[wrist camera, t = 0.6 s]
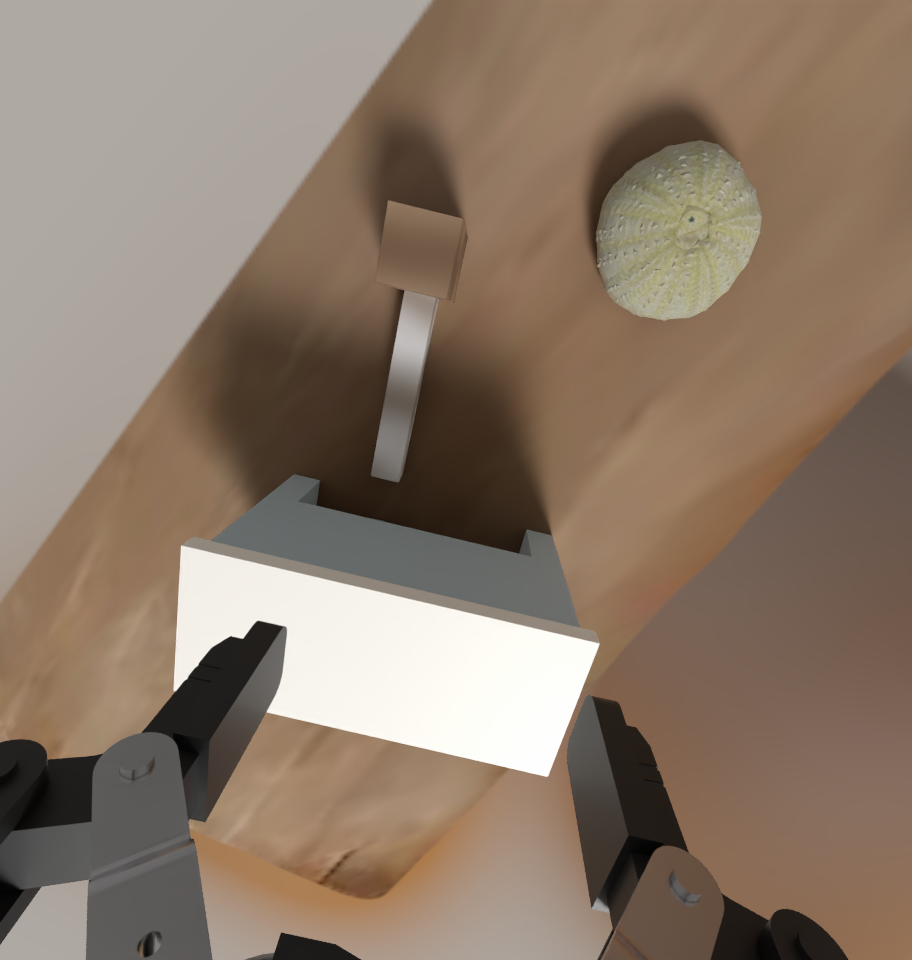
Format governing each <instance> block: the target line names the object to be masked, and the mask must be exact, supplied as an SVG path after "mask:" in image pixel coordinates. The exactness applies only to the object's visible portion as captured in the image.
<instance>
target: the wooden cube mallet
mask: <svg viewBox="0 0 912 960" xmlns="http://www.w3.org/2000/svg"><path fill="white" fill-rule="evenodd" d="M467 238H468V237H467V233H466V228H465V224H464V220H463V219H462V218H458V217H454V216H450V215H446V214H442V213H438V212H434V211H430V210H426V209H422V208H418V207H414V206H409V205H405V204H401V203H397V202H393V201H389V200H388V204H387V210H386V216H385V222H384V228H383V234H382V240H381V247H380V253H379V259H378V265H377V271H376V277H375V282H378V283H381V284H384V285H386V286H389V287H392V288H395V289H399V290H403V291H404V296H403V302H402V307H401V312H400V318H399V323H398V329H397V334H396V340H395V345H394V351H393V356H392V362H391V367H390V373H389V378H388V383H387V389H386V394H385V400H384V405H383V411H382V416H381V422H380V427H379V433H378V438H377V444H376V449H375V454H374V460H373V465H372V471H371V476H373V477H377V478H381V479H385V480H389V481H394V482H399V480H400V479H401V477H402V475H403V471H404V467H405V462H406V457H407V452H408V447H409V442H410V437H411V432H412V428H413V423H414V418H415V413H416V408H417V403H418V398H419V394H420V389H421V384H422V379H423V374H424V369H425V364H426V360H427V355H428V350H429V345H430V340H431V335H432V330H433V326H434V321H435V316H436V311H437V306H438V301H439V299H440V300H444V301H449V302H453V303H454V299H455V294H456V289H457V285H458V280H459V275H460V271H461V266H462V262H463V257H464V252H465V248H466V243H467Z"/></svg>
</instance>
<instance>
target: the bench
mask: <svg viewBox="0 0 912 960" xmlns="http://www.w3.org/2000/svg"><path fill="white" fill-rule="evenodd" d="M319 485H320V480H317V479H313V478H308V477H304V476H300V475H296V474H294V475H293V476H291V477H290V478H289V479H288V480H286V481H285V482H284V483H283V484H281V485H280V486H279V487H278V488H276V489H275V490H274V491H272V492H271V493H270V494H269V495H267V496H266V497H265V498H264V499H262V500H261V501H260V502H259V503H257V504H256V505H255V506H254V507H252V508H251V509H250V510H249V511H247V512H246V513H245V514H244V515H242V516H241V517H240V518H239V519H237V520H236V521H235V522H234V523H232V524H231V525H230V526H229V527H227V528H226V529H225V530H224V531H222V532H221V533H220V534H219V535H217V536H216V537H215V538H214V539H212V540H211V541H209V540H205V539H200V538H196V537H192V538H191V539H189V540H188V541H187V542H185V543H184V544H183V545H181V559H180V578H179V597H178V616H177V635H176V654H175V673H174V691H176V690H177V689H178V688H179V687H180V686H181V684H182V683H183V682H184V681H185V680H187V678H188V676H189V675H190V673H191V672H192V671H193V670H194V668H195V667H197V666H198V664H199V662H200V661H201V660H202V659H203V657H204V656H205V655H206V654H207V653H208V651H209V650H210V649H211V648H212V647H213V646H215V645H217V644H218V643H220V642H222V641H223V640H225V639H226V638H228V637H230V636H232V637H237V638H241V639H243V638H244V637H245V635H246V634H247V633H248V631H249V630H250V629H251V627H252V626H253V625H254V623H255V622H256V621H263V622H267V623H272V624H276V625H281V626H285V627H286V628H287V638H286V647H285V655H284V664H283V673H282V678H281V681H280V685H279V688H278V690H277V693H276V695H275V697H274V699H273V701H272V703H271V704H270V706H269V708H268V710H267V712H268V713H272V714H277V715H281V716H285V717H290V718H294V719H298V720H303V721H307V722H311V723H316V724H320V725H324V726H329V727H333V728H338V729H342V730H346V731H351V732H355V733H359V734H364V735H368V736H372V737H377V738H381V739H385V740H390V741H394V742H398V743H403V744H407V745H411V746H416V747H420V748H425V749H429V750H433V751H438V752H442V753H446V754H451V755H455V756H459V757H464V758H468V759H472V760H477V761H481V762H485V763H490V764H494V765H498V766H503V767H507V768H512V769H516V770H521V771H525V772H529V773H533V774H538V775H542V776H546V777H548V775H549V772H550V769H551V767H552V764H553V762H554V759H555V757H556V754H557V751H558V749H559V747H560V744H561V741H562V739H563V736H564V734H565V731H566V729H567V726H568V723H569V721H570V718H571V716H572V713H573V711H574V708H575V706H576V703H577V700H578V698H579V695H580V693H581V690H582V688H583V685H584V682H585V680H586V677H587V675H588V672H589V670H590V667H591V665H592V662H593V659H594V657H595V654H596V652H597V649H598V647H599V644H600V643H599V640H598V637H597V635H596V632H595V631H592V630H588V629H583V628H580V626H579V623H578V619H577V616H576V613H575V609H574V606H573V603H572V600H571V596H570V593H569V590H568V586H567V583H566V580H565V577H564V573H563V570H562V567H561V563H560V560H559V557H558V554H557V550H556V547H555V544H554V540H553V537H552V535H548V534H544V533H540V532H536V531H531V530H527V529H526V532H525V535H524V539H523V542H522V545H521V549H520V552H519V554H518V553H514V552H510V551H506V550H501V549H497V548H493V547H489V546H485V545H480V544H476V543H472V542H468V541H463V540H459V539H455V538H451V537H447V536H442V535H438V534H434V533H430V532H425V531H421V530H417V529H413V528H409V527H404V526H400V525H396V524H392V523H387V522H383V521H379V520H375V519H371V518H366V517H362V516H358V515H354V514H349V513H345V512H341V511H337V510H333V509H328V508H324V507H320V506H316V505H317V498H318V492H319Z"/></svg>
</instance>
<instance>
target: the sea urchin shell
mask: <svg viewBox="0 0 912 960" xmlns="http://www.w3.org/2000/svg"><path fill="white" fill-rule="evenodd" d="M761 218H762V214H761V212H760V206H759V203H758V200H757V197H756V188H753V186H752V184H751V182H750V181H749V179H748V178H747V177H746V175H745V173H744V171H743V168H742V167H741V166H740V161H738V160H735V159H734V158H733V157H732V156H731V155H730V154H728V153H727V152H726V150H725V149H723V148H722V147H720V146H719V144H718V143H717V144H716V143H715V144H713V143H711V142H704V141H702V140H698V141H693V142H687V143H682V144H677V145H670V146H666V147H665V148H664V149H662V150H661V151H659V152H657V153H655V154H653V155H651V156H650V157H648V158H646V159H644V160H642V161H640V162H637V163H636V164H634V166H633V167H632V168H630V170H628V171H627V172H625V174H624V175H623V177H621V178H620V179H619V180H618V181H617V182H616V183H615V184H614V185H613V186H612V188H611V189H610V191H609V193H608V194H607V196H606V198H605V200H604V201H603V204H602V209H601V212H600V218H599V222H598V226H597V231H596V236H597V237H596V240H595V241H596V242H597V262H598V264H597V267H598V268H599V272H600V274H601V277H602V280H603V284H604V287H605V290H606V292H607V293H608V295H609V296H610V297H611V299H612V300H613V301H614V302H615V303H616V304H618V305H620V306H622V307H623V308H624V309H627V310H628V311H630V312H631V313H633V314H634V315H638V316H640V317H649V318H655V319H657V320H659V319H661V320H663V321H665V320H667V319H676V318H689V317H692V316H694V315H696V314H698V313H700V312H702V311H706V310H707V309H708V307H709V306H711V305H712V304H713V303H714V302H715V301H716V300H717V299H718V298H719V297H720V296H721V295H723V294H724V293H725V292H728V290H729V289H730V286H731V285H732V284H733V282H734V281H735V279H736V278H737V276H738V275H739V274H740V272H741V271H742V270H743V269H744V268H745V266H746V264H747V263H748V262H749V258H750V256H751V254H752V251H753V249H754V246H755V243H756V241H757V239H758V236H759V235H760V227H761Z"/></svg>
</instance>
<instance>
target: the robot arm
mask: <svg viewBox="0 0 912 960" xmlns="http://www.w3.org/2000/svg"><path fill="white" fill-rule="evenodd" d="M286 638H287V628H286V627H285V626H281V625H276V624H272V623H267V622H263V621H256V622H255V623H254V625H253V626H252V627H251V629H250V630H249V631H248V633H247V634H246V635H245V637H244V638H243V639H241V638H237V637H232V636H230V637H228V638H226V639H225V640H223V641H222V642H220V643H218V644H217V645H215V646H213V647H212V648H211V649H210V650H209V651H208V653H207V654H206V655H205V656H204V657H203V659H202V660H201V661H200V662H199V664H198V666H197V667H195V668H194V670H193V671H192V672H191V673H190V675H189V676H188V678H187V680H185V681H184V682H183V683H182V684H181V686H180V687H179V688H178V689H177V690H176V692H175V693H174V694H173V695H172V697H171V698H170V699H169V700H168V701H167V703H166V704H165V705H164V706H163V708H162V709H161V710H160V711H159V712H158V714H157V715H156V716H155V717H154V719H153V720H152V721H151V722H150V723H149V725H148V726H147V727H146V728H145V729H144V730H143V732H142V733H140V734H135V735H132V736H129V737H127V738H125V739H122V740H120V741H119V742H117V743H115V744H114V745H113V746H111V747H110V748H109V749H108V750H107V751H105V752H104V753H103V754H100V755H95V756H88V757H75V758H63V759H50V760H47V753H46V750H45V749H44V747H43V746H42V745H41V744H39V743H37V742H35V741H31V740H23V739H20V740H10V741H4V742H1V743H0V944H1V943H2V941H3V940H4V939H5V937H6V936H7V934H8V933H9V931H10V930H11V929H12V927H13V926H14V925H15V923H16V922H17V920H18V919H19V918H20V916H21V914H22V913H23V912H24V910H25V909H26V908H27V906H28V905H29V903H30V902H31V901H32V899H33V898H34V897H35V895H36V894H37V892H38V891H39V890H40V888H41V887H42V886H49V885H55V884H61V883H69V882H76V881H82V880H89V879H90V880H89V883H88V902H87V942H86V943H87V944H86V960H212V953H211V947H210V940H209V933H208V926H207V919H206V912H205V906H204V898H203V892H202V885H201V878H200V871H199V864H198V857H197V851H196V846H195V842H194V839H191V836H190V831H189V823H188V821H189V819H193V820H197V821H202V822H206V820H207V818H208V816H209V815H210V813H211V811H212V809H213V807H214V806H215V804H216V802H217V800H218V798H219V797H220V795H221V793H222V791H223V789H224V788H225V786H226V784H227V782H228V780H229V779H230V777H231V775H232V773H233V771H234V770H235V768H236V766H237V764H238V762H239V760H240V759H241V757H242V755H243V753H244V751H245V750H246V748H247V746H248V744H249V742H250V741H251V739H252V737H253V735H254V733H255V732H256V730H257V728H258V726H259V724H260V723H261V721H262V719H263V717H264V715H265V713H266V712H267V710H268V708H269V706H270V704H271V703H272V701H273V699H274V697H275V695H276V693H277V690H278V688H279V685H280V681H281V678H282V673H283V664H284V655H285V647H286ZM567 764H568V770H569V776H570V782H571V788H572V794H573V800H574V806H575V812H576V818H577V824H578V830H579V836H580V842H581V848H582V854H583V860H584V866H585V872H586V878H587V884H588V890H589V896H590V901H591V907H592V909H594V910H599V911H603V912H608V913H610V917H611V922H612V927H613V929H612V931H611V932H610V934H609V936H608V938H607V940H606V943H605V945H604V947H603V949H602V951H601V953H600V955H599V957H598V959H597V960H848V958H847V957H846V955H845V954H844V952H843V951H842V949H841V948H840V947H839V945H838V944H837V943H836V942H835V940H833V938H832V937H831V936H830V935H829V934H828V933H827V932H826V931H825V930H824V929H823V928H822V927H820V926H819V925H818V924H817V923H815V922H814V921H813V920H811V919H810V918H808V917H806V916H805V915H803V914H801V913H799V912H796V911H794V910H789V909H781V910H778V911H776V912H775V913H774V914H773V915H772V917H771V918H770V920H767V919H765V918H763V917H761V916H760V915H757V914H756V913H754V912H752V911H751V910H749V909H747V908H745V907H743V906H742V905H740V904H738V903H736V902H734V901H733V900H731V899H729V898H728V897H726V896H725V895H723V894H722V893H721V891H720V889H719V887H718V884H717V882H716V881H715V879H714V878H713V876H712V875H711V873H710V872H709V871H708V869H707V868H706V867H705V866H704V865H703V864H702V863H701V862H700V861H699V860H698V859H697V858H695V857H694V856H693V855H691V854H690V853H689V852H688V850H687V846H686V844H685V841H684V838H683V836H682V833H681V830H680V827H679V824H678V822H677V819H676V816H675V813H674V811H673V808H672V805H671V802H670V799H669V797H668V794H667V791H666V788H665V787H663V780H662V777H661V775H660V772H659V771H658V770H657V767H658V766H657V764H656V761H655V758H654V756H653V753H652V750H651V747H650V745H649V744H648V743H647V741H646V740H645V739H644V737H643V736H642V735H641V733H640V732H639V731H638V729H637V728H636V727H631V726H627V725H626V723H625V719H624V716H623V713H622V710H621V707H620V705H619V703H618V702H616V701H612V700H608V699H603V698H599V697H594V696H587V697H586V699H585V700H584V703H583V705H582V708H581V710H580V713H579V716H578V718H577V720H576V723H575V725H574V728H573V731H572V733H571V736H570V738H569V743H568V749H567ZM246 960H361V959H359V958H357V957H356V956H354V955H352V954H351V953H349V952H347V951H346V950H344V949H342V948H341V947H339V946H337V945H336V944H331V943H327V942H322V941H317V940H313V939H308V938H304V937H299V936H294V935H290V934H285V933H281V935H280V938H279V941H278V944H277V947H276V950H275V953H271V954H263V955H259V956H256V957H252V958H249V959H246Z"/></svg>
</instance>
